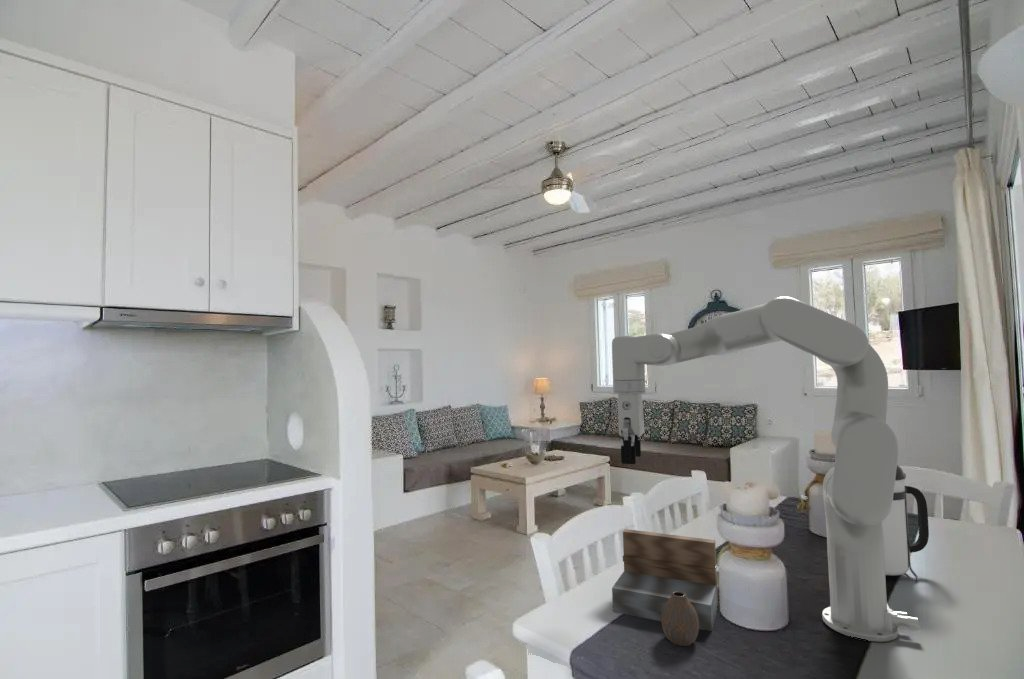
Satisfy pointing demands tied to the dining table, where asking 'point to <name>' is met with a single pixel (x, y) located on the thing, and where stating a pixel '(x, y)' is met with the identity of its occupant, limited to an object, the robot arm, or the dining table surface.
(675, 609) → the vase
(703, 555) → the wall shelf
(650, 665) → the dining table surface
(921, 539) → the coffee press
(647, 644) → the dining table surface
